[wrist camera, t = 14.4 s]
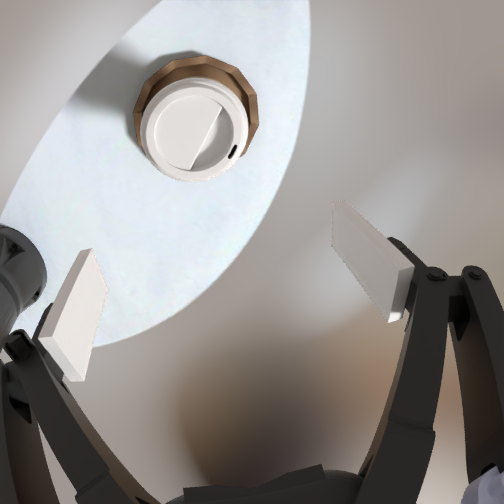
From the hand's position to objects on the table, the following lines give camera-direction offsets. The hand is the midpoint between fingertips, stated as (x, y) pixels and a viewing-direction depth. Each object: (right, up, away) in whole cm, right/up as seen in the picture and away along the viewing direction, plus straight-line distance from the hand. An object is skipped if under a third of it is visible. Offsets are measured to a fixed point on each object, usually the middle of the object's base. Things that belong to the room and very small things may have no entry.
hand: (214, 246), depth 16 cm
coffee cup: (-5, +17, +20) cm, 27 cm away
